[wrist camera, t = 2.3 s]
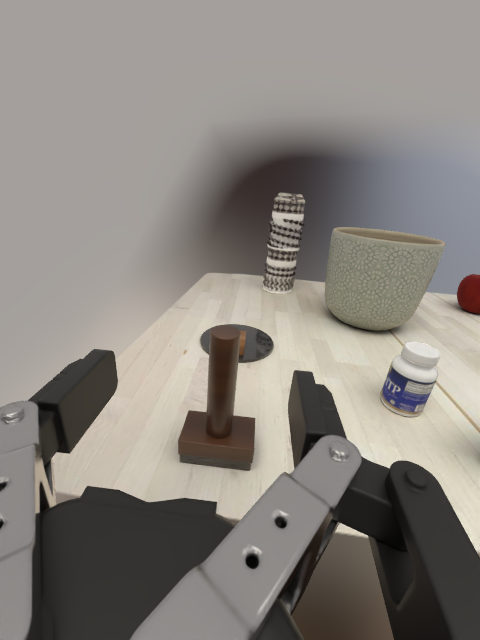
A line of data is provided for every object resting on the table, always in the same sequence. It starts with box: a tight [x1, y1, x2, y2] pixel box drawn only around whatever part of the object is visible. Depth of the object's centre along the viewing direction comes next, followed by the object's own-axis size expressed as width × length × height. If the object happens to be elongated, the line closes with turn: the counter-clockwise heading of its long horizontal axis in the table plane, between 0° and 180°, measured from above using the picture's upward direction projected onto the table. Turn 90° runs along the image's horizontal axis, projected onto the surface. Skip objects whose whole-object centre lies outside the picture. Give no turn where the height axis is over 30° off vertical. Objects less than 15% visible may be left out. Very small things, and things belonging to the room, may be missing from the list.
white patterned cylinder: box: [263, 193, 305, 294], centre depth 76 cm, size 9×9×25 cm
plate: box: [200, 324, 273, 362], centre depth 51 cm, size 13×13×1 cm
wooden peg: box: [178, 325, 255, 470], centre depth 27 cm, size 4×7×14 cm, turn 85°
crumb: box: [239, 331, 246, 355], centre depth 47 cm, size 3×3×3 cm
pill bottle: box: [380, 341, 440, 417], centre depth 37 cm, size 5×5×9 cm
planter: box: [325, 227, 446, 331], centre depth 62 cm, size 21×21×19 cm
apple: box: [457, 274, 480, 314], centre depth 76 cm, size 10×10×10 cm
